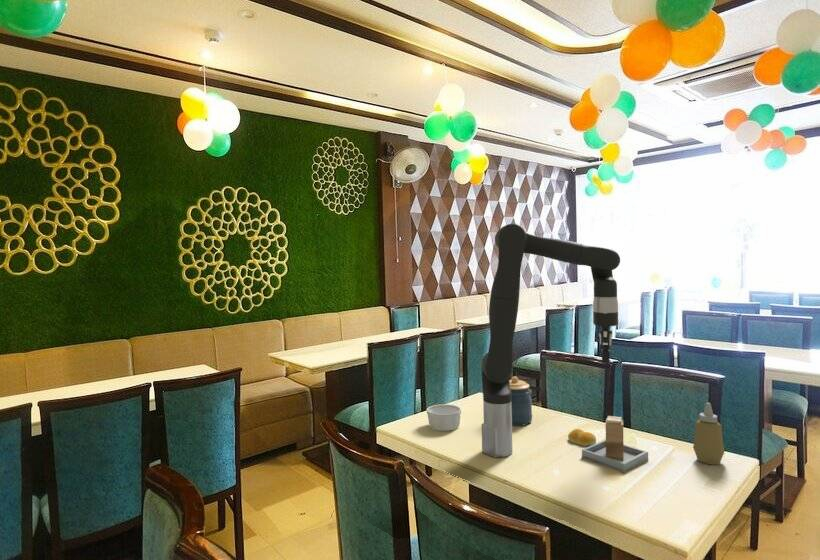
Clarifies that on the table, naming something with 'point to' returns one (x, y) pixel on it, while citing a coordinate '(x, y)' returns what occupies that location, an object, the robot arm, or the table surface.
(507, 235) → the robot arm
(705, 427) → the squeeze bottle
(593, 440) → the bread roll
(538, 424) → the table surface
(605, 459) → the tray
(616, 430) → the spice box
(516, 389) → the canister
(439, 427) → the ramekin
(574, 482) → the table surface
